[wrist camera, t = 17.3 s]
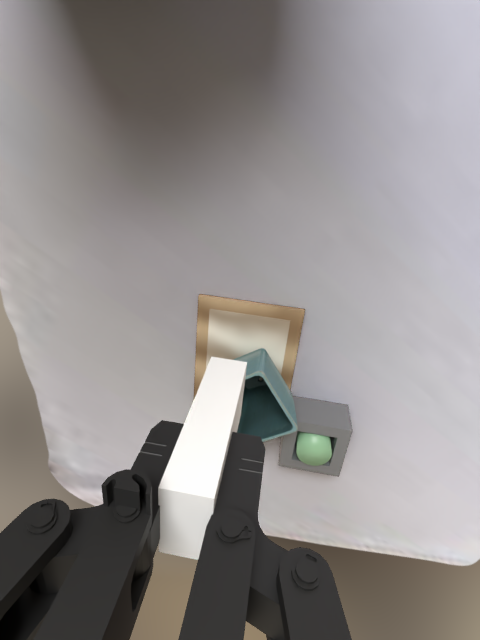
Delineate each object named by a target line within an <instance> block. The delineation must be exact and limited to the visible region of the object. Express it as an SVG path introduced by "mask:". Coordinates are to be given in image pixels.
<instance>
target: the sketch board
mask: <svg viewBox="0 0 480 640" xmlns="http://www.w3.org/2000/svg"><path fill="white" fill-rule="evenodd" d="M304 313H305V309H300V308H293V307H286V306H279V305H272V304H265V303H259V302H252V301H245V300H238V299H231V298H224V297H217V296H210V295H203V294H199V296H198V317H197V339H196V360H195V382H194V397H195V395H196V394H197V391H198V389H199V386H200V384H201V381H202V379H203V376H204V374H205V371H206V369H207V366H208V364H209V362H210V359H211V357H218V358H224V359H230V360H233V359H236V358H238V357H241V356H243V355H246V354H248V353H250V352H253V351H255V350H258V349H261V348H264V349H265V350H266V351H267V353H268V354H269V356H270V358H271V360H272V361H273V363H274V364H275V366H276V368H277V369H278V371H279V373H280V374H281V376H282V378H283V379H284V381H285V383H286V384H287V386H288V388H289V390H290V387H291V382H292V377H293V371H294V366H295V361H296V355H297V350H298V345H299V339H300V334H301V329H302V323H303V318H304ZM259 380H263V379H262V378H259Z"/></svg>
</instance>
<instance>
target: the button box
mask: <svg viewBox="0 0 480 640" xmlns="http://www.w3.org/2000/svg"><path fill="white" fill-rule="evenodd" d="M293 400H294V405H295V412H296V418H297V426H298V430H297V431H301V432H306V433H312V434H318V435H324V436H329V437H330V439H331V449H332V456H331V458H330V460H329V461H328V462H327V463H325V464H323V465H319V466H312V465H308V464H305V463H303V462H302V461H301V460H300V459H299V458H298V456H297V452H296V450H297V431H296V432H293V433H291V434H288V435H284V436H281V439H280V453H279V466H283V467H288V468H294V469H299V470H305V471H310V472H316V473H321V474H327V475H332V476H338V477H339V474H340V471H341V468H342V464H343V461H344V458H345V454H346V451H347V447H348V444H349V441H350V437H351V434H352V425H351V419H350V413H349V407H348V405H345V404H339V403H333V402H327V401H321V400H315V399H309V398H303V397H297V396H293Z"/></svg>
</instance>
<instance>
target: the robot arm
mask: <svg viewBox="0 0 480 640" xmlns="http://www.w3.org/2000/svg"><path fill="white" fill-rule="evenodd" d="M246 368H247V362H243V361H236V360H230V359H224V358H218V357H211V359H210V362H209V364H208V366H207V369H206V371H205V374H204V376H203V379H202V381H201V384H200V386H199V389H198V391H197V394H196V396H195V398H194V401H193V403H192V406H191V408H190V411H189V413H188V416H187V418H186V421H185V423H184V424H180V423H175V422H169V421H163V420H162V421H161V422H159V423H158V424H157V425H156V426H155V427H154V428H152V429H151V431H150V433H149V435H148V437H147V439H146V441H145V443H144V445H143V447H142V449H141V451H140V453H139V454H138V456H137V458H136V460H135V462H134V464H133V466H132V468H131V470H123V471H119V472H116V473H115V474H113V475H111V476H110V477H108V478H107V479H106V481H105V482H104V483H103V484H102V493H103V503H104V504H102V505H99V506H96V507H91V508H84V509H74V510H69V507H68V505H67V504H66V503H64V502H63V501H61V500H57V499H46V500H42V501H39V502H37V503H35V504H32V505H31V506H30V507H28V508H27V509H25V510H24V511H23V512H22V513H21V514H20V515H19V516H18V517H17V518H16V519H15V520H14V521H12V523H10V524H9V525H8V526H7V527H6V528H5V529H4V530H3V531H2V532H1V533H0V640H129V639H130V636H131V633H132V630H133V628H134V624H135V622H136V619H137V616H138V613H139V610H140V607H141V604H142V601H143V598H144V595H145V592H146V589H147V586H148V583H149V580H150V577H151V574H152V569H153V557H154V554H155V551H156V549H157V546H158V543H159V552H163V553H167V554H172V555H177V556H182V557H186V558H192V559H196V560H198V563H197V567H196V571H195V575H194V579H193V583H192V587H191V592H190V595H189V599H188V603H187V607H186V611H185V616H184V620H183V624H182V628H181V632H180V636H179V640H243V638H244V631H245V622H246V621H247V622H249V623H250V624H251V625H253V626H255V627H256V628H257V629H259V630H260V631H262V632H263V633H265V634H266V637H267V640H352V639H351V636H350V632H349V629H348V625H347V622H346V619H345V615H344V612H343V608H342V605H341V602H340V598H339V595H338V591H337V588H336V585H335V581H334V577H333V574H332V572H331V570H330V567H329V565H328V563H327V562H326V561H325V560H324V559H323V558H322V556H321V555H320V554H318V553H316V552H314V551H313V550H311V549H307V548H301V547H299V548H295V549H291V550H290V551H287V550H285V549H284V548H282V547H280V546H278V545H277V544H275V543H274V542H272V541H271V540H269V539H268V538H267V537H266V535H265V534H264V533H263V531H262V530H261V528H260V526H259V522H258V506H259V498H260V489H261V481H262V472H263V463H264V455H265V447H264V444H263V442H262V439H261V437H259V436H254V435H248V434H242V433H237V430H238V425H239V421H240V416H241V410H242V401H243V393H244V385H245V376H246Z"/></svg>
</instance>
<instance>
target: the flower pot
mask: <svg viewBox="0 0 480 640" xmlns="http://www.w3.org/2000/svg"><path fill="white" fill-rule="evenodd" d="M233 360H236V361H243V362H247V368H246V376H245V385H244V393H243V401H242V410H241V416H240V421H239V425H238V430H237V433H242V434H248V435H254V436H259V437H261V439H262V442H265V441H268V440H271V439H274V438H278V437H281V436H284V435H288V434H291V433H293V432H296V431H297V430H298V426H297V418H296V412H295V405H294V400H293V396H292V394H291V391H290V390H289V388H288V386H287V384H286V383H285V381H284V379H283V378H282V376H281V374H280V373H279V371H278V369H277V368H276V366H275V364H274V363H273V361H272V360H271V358H270V356H269V354H268V353H267V351H266V350H265V349H264V348H261V349H258V350H255V351H253V352H250V353H248V354H246V355H243V356H241V357H238V358H236V359H233ZM259 378H262V379H263V380H259ZM195 396H196V395H195ZM194 398H195V397H194Z"/></svg>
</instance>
